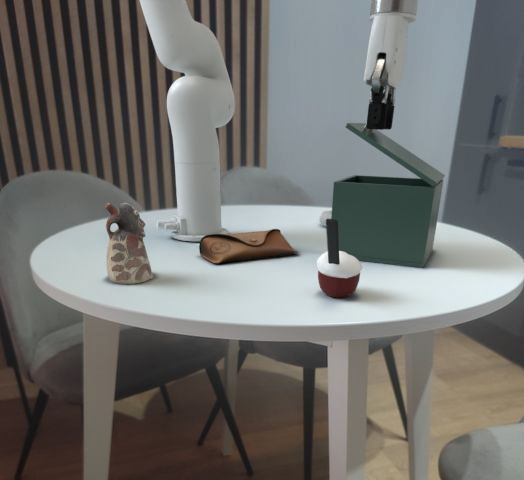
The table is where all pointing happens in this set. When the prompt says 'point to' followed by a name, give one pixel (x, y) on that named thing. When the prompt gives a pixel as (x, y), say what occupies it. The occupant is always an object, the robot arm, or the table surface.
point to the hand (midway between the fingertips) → (379, 128)
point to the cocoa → (337, 266)
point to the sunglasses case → (244, 246)
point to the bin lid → (397, 153)
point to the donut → (325, 217)
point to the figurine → (126, 246)
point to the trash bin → (386, 218)
